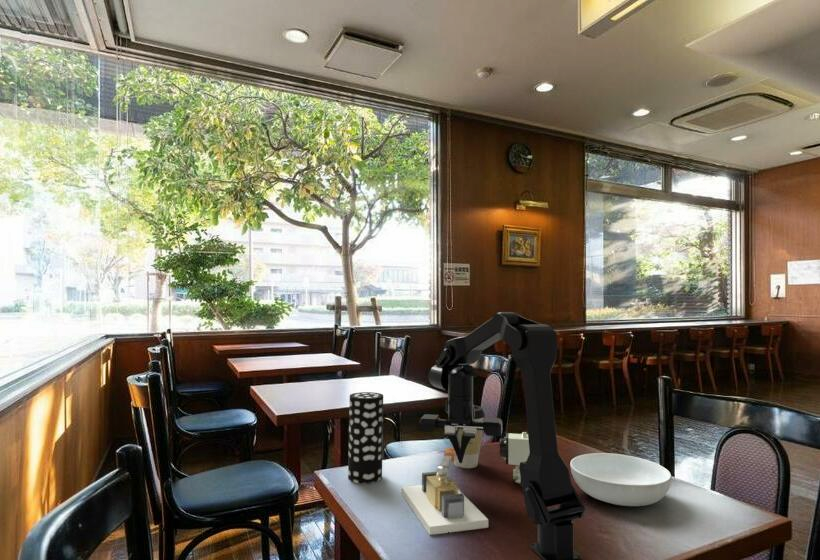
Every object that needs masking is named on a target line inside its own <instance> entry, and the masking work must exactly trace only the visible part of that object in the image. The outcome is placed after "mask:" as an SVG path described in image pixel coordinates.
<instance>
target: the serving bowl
mask: <svg viewBox="0 0 820 560" xmlns="http://www.w3.org/2000/svg"><path fill="white" fill-rule="evenodd" d="M569 466H570V472H571V474H572V477H573V479H574V481H575V483H576V485H577V486H578V487H579V488H580V489H581V490H582V491H583V492H584V493H586V494H587V495H589V496H590V497H592V498H593V499H596V500H599V501H602V502H604V503H607V504H612V505H616V506H622V507H623V506H624V507H641V506H642V507H644V506H648V505H652V504H655V503H658V502H659V501H660V500H662V499H663V498H664V497H665V496H666V495H667V493H668V492H669V489H670V487H671V481H672V474H671V472H670V471H669V469H667V468H665V467H664V466H663V465H660V464H659V463H656V462H653V461H651V460H648V459H645V458H642V457H641V458H640V457H637V456H632V455H627V454H621V453H607V452H594V453H585V454H581V455H577V456H575V457H574V458H572V459H571V460H570V464H569Z"/></svg>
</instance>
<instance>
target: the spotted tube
mask: <svg viewBox="0 0 820 560" xmlns="http://www.w3.org/2000/svg"><path fill="white" fill-rule="evenodd" d="M348 405H349V409H348V410H349V412H348V413H349V415H348V459H347V461H348V462H347V463H348V465H347V466H348V469H347V473H348V475H347V478H348V480H349V481H350V482H352V483H356V484H373V483H376V482H379V481H381V480H382V479H383V445H384V444H383V442H384V440H383V437H384V436H383V435H384V431H383V430H384V423H383V422H384V394H383V393H379V392H372V391H371V392H370V391H367V392H366V391H364V392H363V391H362V392H354V393H351V394H349V404H348Z"/></svg>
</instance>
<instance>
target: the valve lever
mask: <svg viewBox="0 0 820 560" xmlns="http://www.w3.org/2000/svg"><path fill="white" fill-rule="evenodd" d="M443 455H444V456H443V458H442V460H441V462H440V463H439V465H437V466H436V472H437V475H438V476H439V480H440V481H444V480H445V476H448V470H449V468H450V466H451V464H452V463H454V460H455V458H456V456H457V455H456V453H455V450H454V448H452V447H447V448H446V449H445V451H444V453H443Z"/></svg>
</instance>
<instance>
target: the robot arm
mask: <svg viewBox="0 0 820 560" xmlns="http://www.w3.org/2000/svg"><path fill="white" fill-rule="evenodd" d="M498 341H502V342H503V343H505V344H506V345H507V346H509V347H510V349H511V355H512V359H513V361H514V362H515V364H516V366H517V367H518V368H519V370H520V371H521V373H522V381H523V391H524V402H525V403H524V404H525V415H526V425H527V434H528V439H529V450H530V453H529V456H528V458H527V461H525V462H520V465H519V470H520V476H521V481H520V484H519V486H520V487H521V490H522V495H523V500H524V504H525V509H526V514H527V517H528V518H529V519H531V520H532V523H533V524H534V525H537V526H536V527H537V529H536V533H537V534H536V536H537V537H536V541H537V542H533V543H530V544H529V548H530V549H531V550H532V551H533V552H535V553H536V555H537V556H538V557H540V558H541V560H582V555H580V553H578V552H577V551H576V550H575V549H574V547H575V546H574V539H575V538H574V531H575V530H574V529H575V528H574V525H575V524H574V523H573V520H577V519H583V518H584V516H585V515H584V514H585V512H586V507H585V505H584V503H583V502H582V500H581V498H580V496H579V494H578V492H577V491H576V489H575V487H574V486H573V484H572V479H571V475H570V471H569V467H568V465H567V464H566V463H565V461H564V459H563V458H562V456H560V454H559V449H558V447H559V446H558V440H557V439H558V438H557V428H556V419H555V408H554V399H553V388H552V378H551V371H552V369H553V367H554V365H555V362H556V360H557V357H558V335H557V333H556V330H554V329H553V328H552V327H551V326H550V325H549V324H544V323H543V324H542V323H540V322H537V321H535V320H532V319H529V318H526V317H524V316H522V315H520V314H518V313H516V312H514V311H513V312H512V311H511V312H510V311H509V312H508V311H501V312H500V311H499V312H496V313H495V314H494V315H492V317H491V318H490V319H488V320H486V322H484V323H482V325H480V326H478V327H477V328H475V329H474V330H473V331H471V332H469V333H468V334H467V335H464V336H458V337H455V338H452V339H451V338H450V339H449V340H447V341H446V342H445V344H444V347H443V349H442V351H441V353H440V356H439V357H438V359H436V360H435V365H434V366H432V367H431V368H430V371H429V373H428V377H427V378H428V381H429V383H430V385H432V386H433V387H435V388H438V389H441V390H443V391H447V399H446V400H445V410H444V411H445V413H446V414H447V415H448V419H443V418H440V414H429V413H428V414H427V413H425V414H423V416H422V417H421V418H420V419H419V421H418V431H419V432H422V433H433V431H434V430H435V429H436V428H437V429H438V428H443V429H444V433H443V436H444V437H446V438H448V439H449V441H450V443H451V446H452V445H453V447H454V450H455V453H456V455H457V458H458V461H459V463H462V461H463V458H464V454H465V451H466V448H467V445H468V443H469V441H470V439H471V438H475V437H476V434H477V430H482V432H483V434H485V435H486V436H488V437H502V434H503V420H502V419H501V418H499V417H486V416H485V417H484V419H483V422H481V421H473V419H474V418H475V409H474V405H475V404H474V377H478V376H479V373H478V372H477V370H476V369H474V367H473V364H475V363H476V362H478V360H479V359H480V358H481V357H482V353H483V351H484V350H486V349H488V348H490V347H491V346H492V345H494V344H495V343H498ZM452 424H458V425H452ZM464 424H465V425H464ZM460 429H463V431H464V432H463V434H462V440H461V444H460ZM551 506H553V507H551Z"/></svg>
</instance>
